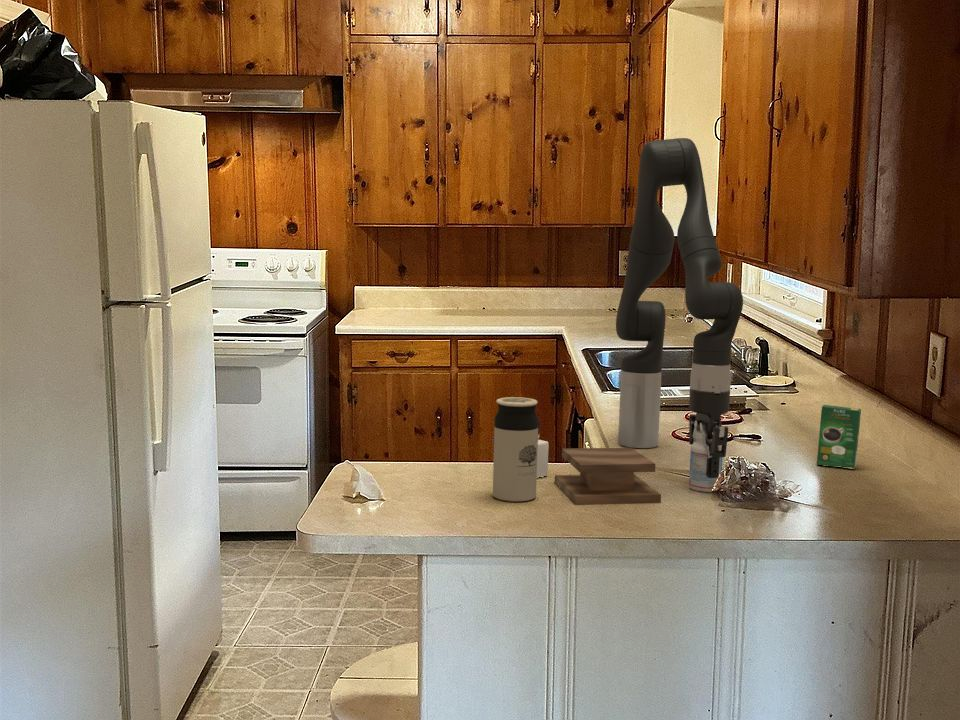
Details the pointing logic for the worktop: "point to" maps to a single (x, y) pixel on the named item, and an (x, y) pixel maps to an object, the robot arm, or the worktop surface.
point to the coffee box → (838, 436)
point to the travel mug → (515, 450)
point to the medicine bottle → (542, 456)
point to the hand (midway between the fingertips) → (705, 473)
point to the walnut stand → (607, 476)
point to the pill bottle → (700, 466)
